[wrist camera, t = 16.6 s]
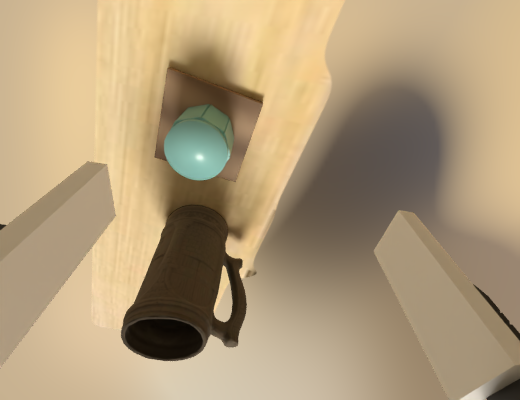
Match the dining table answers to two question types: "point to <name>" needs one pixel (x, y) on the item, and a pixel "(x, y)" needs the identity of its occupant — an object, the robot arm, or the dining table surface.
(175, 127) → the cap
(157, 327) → the beer stein
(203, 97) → the post block
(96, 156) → the dining table surface
